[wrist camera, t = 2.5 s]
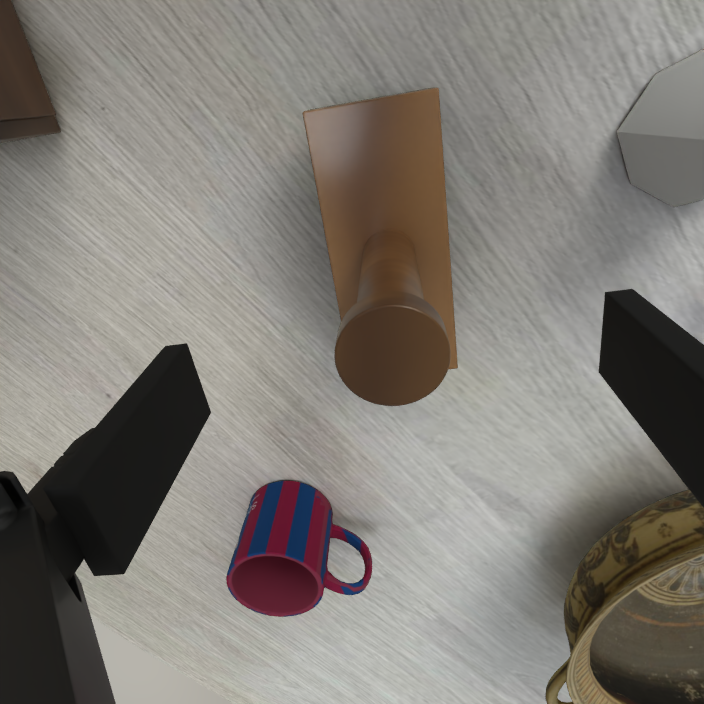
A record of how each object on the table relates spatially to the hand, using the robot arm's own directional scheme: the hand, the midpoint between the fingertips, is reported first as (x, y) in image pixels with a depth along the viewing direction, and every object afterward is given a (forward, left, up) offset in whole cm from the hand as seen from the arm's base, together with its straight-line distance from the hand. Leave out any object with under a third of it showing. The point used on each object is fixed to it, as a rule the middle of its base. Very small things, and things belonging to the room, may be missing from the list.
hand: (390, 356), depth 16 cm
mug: (+9, +22, -15) cm, 28 cm away
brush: (0, 0, -15) cm, 15 cm away
